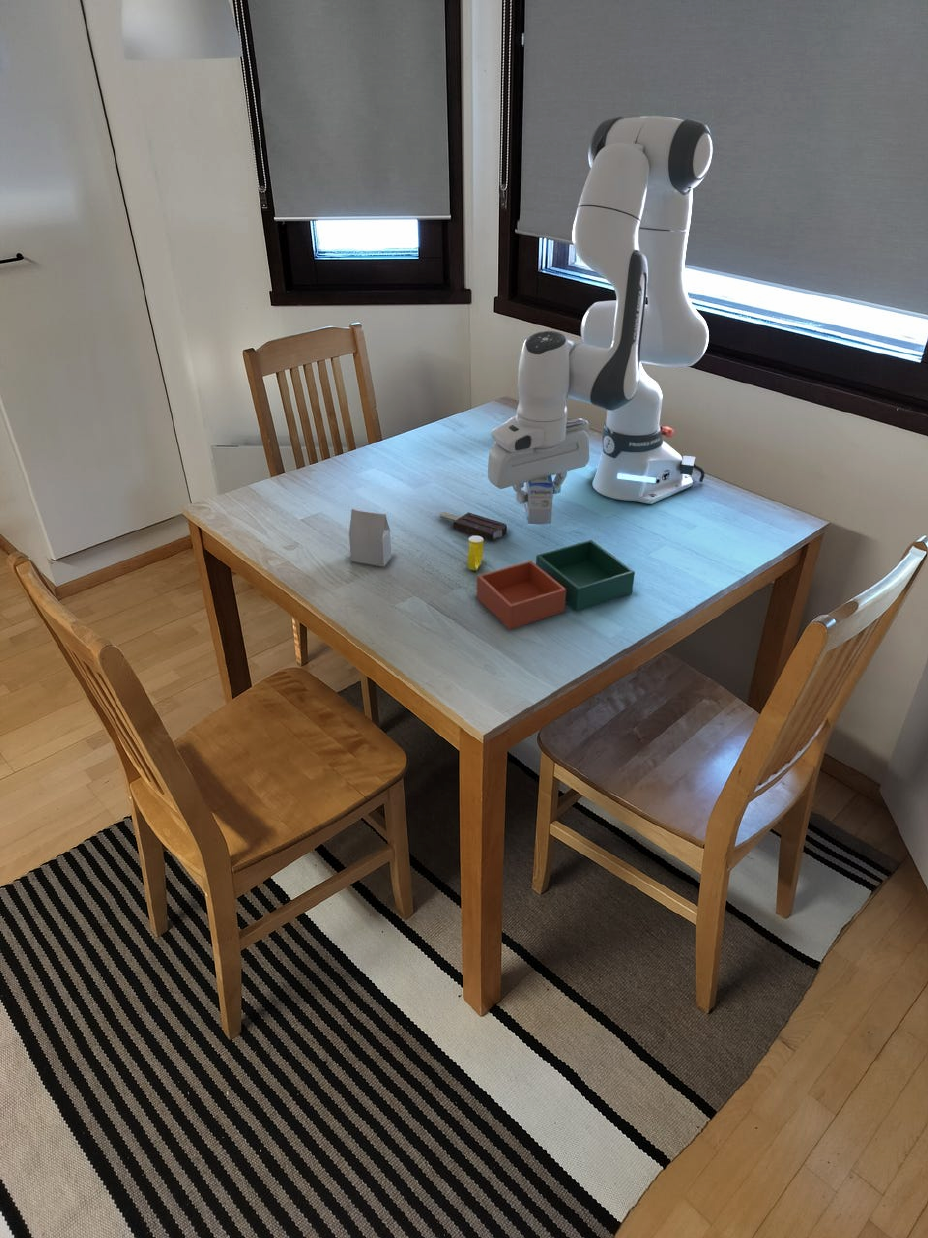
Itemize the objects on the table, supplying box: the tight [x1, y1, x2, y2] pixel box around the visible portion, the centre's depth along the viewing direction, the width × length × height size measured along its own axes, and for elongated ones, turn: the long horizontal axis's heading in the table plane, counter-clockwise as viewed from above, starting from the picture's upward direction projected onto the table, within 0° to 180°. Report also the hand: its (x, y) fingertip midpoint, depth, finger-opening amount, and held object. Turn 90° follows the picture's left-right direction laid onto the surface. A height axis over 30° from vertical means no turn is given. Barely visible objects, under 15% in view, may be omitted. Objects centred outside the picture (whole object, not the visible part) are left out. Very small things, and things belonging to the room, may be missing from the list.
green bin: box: [535, 539, 636, 612], centre depth 158 cm, size 12×13×5 cm
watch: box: [467, 535, 485, 571], centre depth 162 cm, size 6×3×6 cm, turn 163°
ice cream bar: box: [439, 511, 508, 542], centre depth 177 cm, size 5×2×15 cm
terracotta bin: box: [476, 560, 566, 630], centre depth 152 cm, size 11×11×5 cm
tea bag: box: [348, 508, 392, 568], centre depth 164 cm, size 4×7×10 cm, turn 71°
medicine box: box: [523, 476, 554, 525], centre depth 163 cm, size 8×4×9 cm, turn 1°
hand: (538, 497), depth 163 cm, fingers closed on medicine box, 6 cm apart
